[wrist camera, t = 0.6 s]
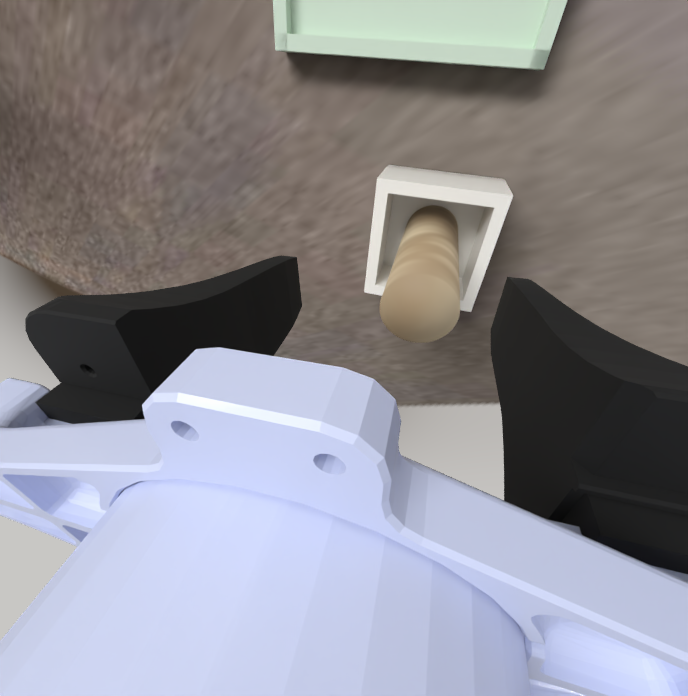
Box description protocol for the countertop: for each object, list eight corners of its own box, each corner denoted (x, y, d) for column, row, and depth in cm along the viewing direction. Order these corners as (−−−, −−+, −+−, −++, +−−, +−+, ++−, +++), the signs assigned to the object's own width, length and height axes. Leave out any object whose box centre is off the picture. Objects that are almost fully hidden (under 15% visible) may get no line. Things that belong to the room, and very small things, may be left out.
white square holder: (504, 178, 18) (513, 195, 15) (468, 284, 21) (470, 312, 19) (388, 164, 18) (377, 177, 16) (374, 267, 22) (364, 292, 20)
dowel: (464, 209, 18) (470, 282, 12) (450, 260, 20) (448, 349, 13) (410, 201, 19) (385, 268, 12) (401, 252, 21) (375, 334, 14)
